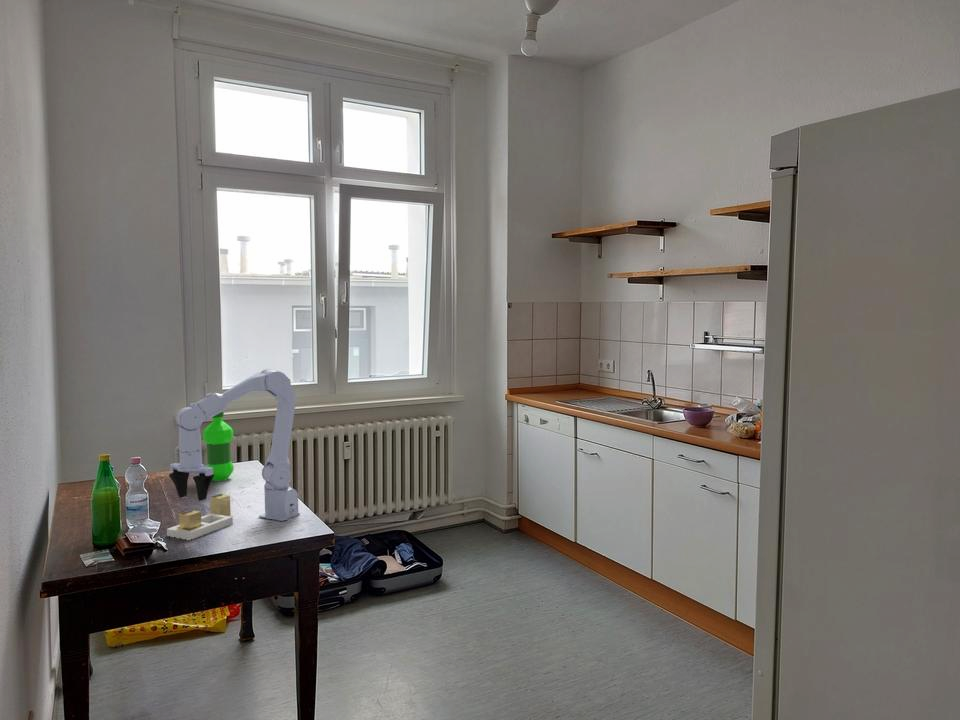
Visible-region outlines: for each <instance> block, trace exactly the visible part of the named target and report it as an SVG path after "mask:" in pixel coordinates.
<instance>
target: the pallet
mask: <svg viewBox="0 0 960 720" xmlns="http://www.w3.org/2000/svg"><path fill="white" fill-rule="evenodd" d="M233 522H234V519H233V516H230V515H228V516H224V515H218V514H212V513H211V514H210V513H208V514H205V515H201V527H198V528H196V529H193V530H190V531H188V530H183V529H179V524H177V525H173V526H171V527H169V528H166V536H167V537H169V536H170V538H174V537H176V538H175V539H180V538H181V540H185V539H186V540H185V541H191V539H192V540H194V539H197V538H199V537H202V536H204V534H205V535H207V534H209V533H212V532H214V531H217V530H220V529H222V528H225V527H228V526H230V525H232V524H234V523H233Z"/></svg>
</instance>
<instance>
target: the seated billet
mask: <svg viewBox="0 0 960 720" xmlns="http://www.w3.org/2000/svg"><path fill="white" fill-rule="evenodd" d="M201 517H202V511H200V510H194V509H188V510H185V511H182V512H180V513H178V523H179V524H178V525H179V529H183V530H188V531H190V530H193V529H196V528H198V527H201Z"/></svg>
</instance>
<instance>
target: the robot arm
mask: <svg viewBox="0 0 960 720" xmlns="http://www.w3.org/2000/svg"><path fill="white" fill-rule="evenodd" d="M251 392H268V393H269V394H270V395H272V397H273V398H274V399H275V400H276V401H277V406H276V413H275V418H274V425H273V434H272V440H271V446H270V453H269V454H268V456H267V457H266V461H265V464H264V466H263V468H262V469H261V477H262V478H263V480H264V481H265V483H264V487H263V488H264V489H263V490H264V491H263V492H264V493H263V494H264V513H262V514H260V515H258V518H263V519H268V520H274V521H281V522H284V521H287V520H289V519H292V518H294V517H296V516H298V514H299V515H300V514H301V512H300V511H299V494H298V492H297V490H296V489H294V488H292V487H291V486H290V483H291V482H292V472H291V469H290V467H291V462H290V458H289V451H290V443H291V437H292V430H293V423H294V417H295V410H296V403H297V396H296V393H295V391H294V389H293V386H292V384H291V379H290V378H289V377H288V375H286V374H285V373H284V372H282V371H279V370H274V369H271V368H266V369H263V370H262V371H260V372H257V373H254V374H253V375H251V376H249V377H247V378H246V379H244V380H241V382H239V383H237V384H235V385H234V386H232V387H231V388H229V389H227V390H226V391H224V392H223V393H218V392H213V393H211V392H209V393H207V394H205V396H206V397H204V398H202V399H200V400H199V401H196V402H195V403H194V402H192V403H190V407H189V406H188V407H187V406H186V407H183V408H180V409H179V411H178V412H177V414H176V417H175V421H176V424H178V452H179V462H174V463H170V464H169V471H170V472H171V473H169V478H170V479H171V481H172V483H173V484H174V486H175V489H176V492H177V495H178V497H179V498H180V499H182V498H184V497H187V495H188V481H189V477H190V474H196V475H195V476H193V477H192V479H193V482H194V483H195V487H196V493H197V499H198V501H204V500H206V499H207V496H208V491H209V488H210V485H211V483H212V481H213V480H212V479H213V477H214V474H213V468H212V467H208V466H206V465H205V464H203V455H202V454H203V452H202V451H203V450H202V434H201V426H202V424H203V422H206V421H207V420H210V419H211V418H212V417H213V416H215V415H217V414H219V413H220V412H222V411H225V410H226V409H227V406H228V404H229V403H232V402H233V401H236V400H237V399H239V398H241V397H244V396H245V395H247V394H250V393H251ZM212 419H213V418H212ZM293 516H294V517H293ZM286 519H287V520H286Z"/></svg>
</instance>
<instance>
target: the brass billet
mask: <svg viewBox="0 0 960 720" xmlns="http://www.w3.org/2000/svg"><path fill="white" fill-rule="evenodd" d="M209 510H210V513H209V514H211V513H212V514H218V515H224V516H230V515H231V512H232V511H231V495H229V494H225V493H218V494H216V495H212V496H210V497H209Z"/></svg>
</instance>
